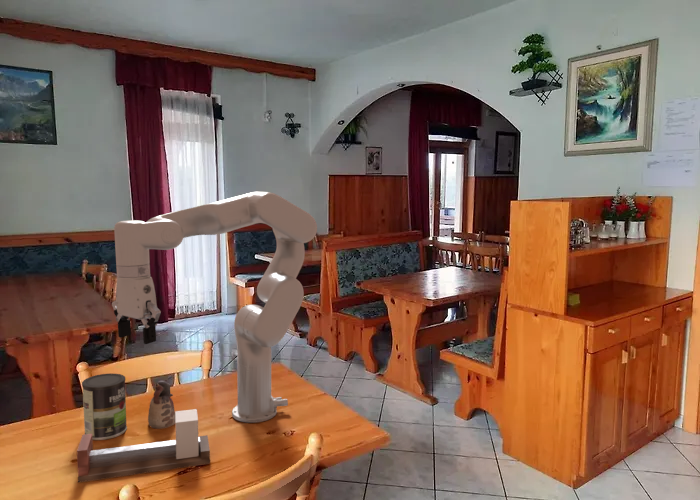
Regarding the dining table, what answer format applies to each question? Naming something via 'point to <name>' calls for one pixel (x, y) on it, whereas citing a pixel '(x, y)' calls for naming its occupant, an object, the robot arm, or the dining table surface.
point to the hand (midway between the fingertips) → (137, 339)
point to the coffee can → (104, 406)
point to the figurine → (161, 407)
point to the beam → (133, 453)
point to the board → (136, 467)
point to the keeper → (186, 433)
